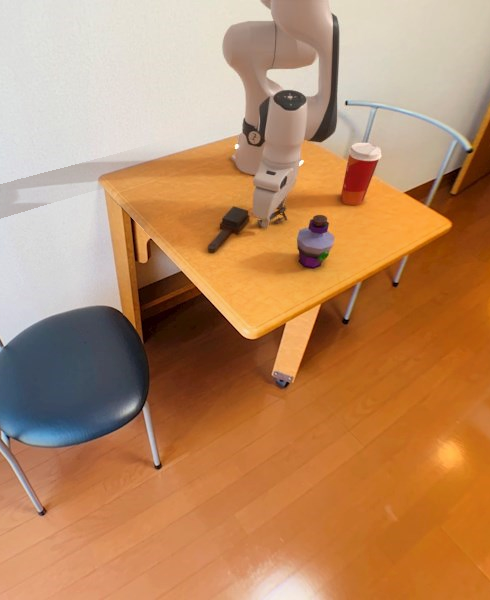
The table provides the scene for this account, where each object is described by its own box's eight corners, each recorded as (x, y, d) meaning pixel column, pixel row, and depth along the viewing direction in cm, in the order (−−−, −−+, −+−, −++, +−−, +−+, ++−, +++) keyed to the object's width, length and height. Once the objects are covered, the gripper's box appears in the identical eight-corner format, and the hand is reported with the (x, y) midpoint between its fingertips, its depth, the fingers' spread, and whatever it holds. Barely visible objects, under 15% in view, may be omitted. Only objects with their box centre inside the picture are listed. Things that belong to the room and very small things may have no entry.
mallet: (231, 216, 115) (232, 205, 113) (249, 221, 114) (250, 210, 111) (200, 249, 105) (200, 238, 103) (219, 256, 103) (220, 244, 101)
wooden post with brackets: (291, 219, 112) (287, 206, 109) (264, 234, 113) (259, 222, 110) (288, 215, 114) (284, 203, 110) (261, 231, 114) (256, 219, 111)
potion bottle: (317, 278, 97) (328, 234, 89) (284, 262, 101) (292, 219, 93) (335, 259, 102) (347, 216, 93) (303, 245, 106) (312, 203, 98)
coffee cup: (349, 189, 125) (363, 138, 115) (373, 201, 120) (389, 150, 110) (329, 198, 122) (342, 146, 111) (353, 211, 117) (368, 158, 106)
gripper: (283, 147, 109) (276, 195, 119) (249, 182, 97) (245, 233, 106) (307, 152, 107) (298, 201, 117) (276, 189, 94) (268, 240, 104)
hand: (272, 216), depth 111 cm, fingers open, 8 cm apart
